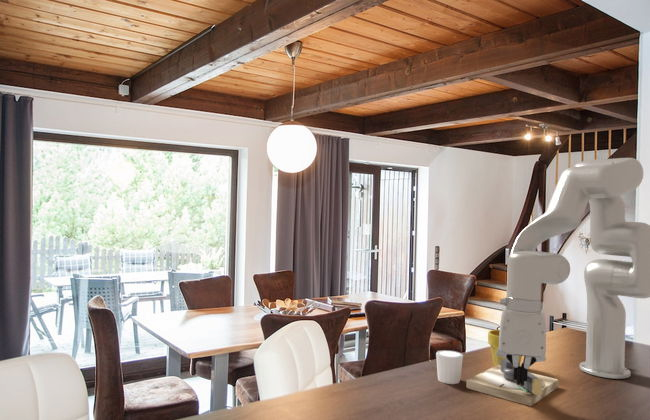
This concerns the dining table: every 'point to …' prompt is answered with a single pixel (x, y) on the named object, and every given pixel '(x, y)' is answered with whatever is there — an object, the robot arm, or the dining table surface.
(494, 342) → the plant pot
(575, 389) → the dining table surface
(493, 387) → the tuner board
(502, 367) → the grey dial pointer
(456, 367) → the white cup
